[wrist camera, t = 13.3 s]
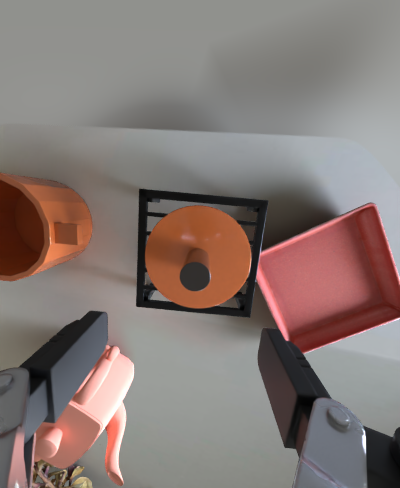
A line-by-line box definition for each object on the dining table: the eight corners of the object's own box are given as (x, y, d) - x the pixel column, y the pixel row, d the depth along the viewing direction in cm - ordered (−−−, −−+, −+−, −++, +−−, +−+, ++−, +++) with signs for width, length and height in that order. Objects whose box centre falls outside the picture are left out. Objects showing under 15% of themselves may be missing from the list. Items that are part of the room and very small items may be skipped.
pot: (-9, 175, 29) (-94, 164, 21) (109, 186, 29) (71, 179, 21) (1, 255, 32) (-72, 273, 23) (109, 265, 32) (75, 287, 23)
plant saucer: (284, 344, 33) (292, 360, 30) (241, 252, 30) (245, 258, 27) (390, 303, 31) (412, 315, 28) (356, 200, 28) (375, 199, 25)
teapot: (149, 397, 36) (120, 496, 24) (63, 399, 37) (-9, 497, 25) (139, 325, 34) (100, 396, 21) (46, 329, 34) (-45, 400, 22)
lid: (149, 200, 24) (126, 199, 17) (256, 210, 24) (276, 213, 17) (145, 299, 27) (124, 332, 20) (242, 308, 27) (254, 345, 20)
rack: (150, 191, 29) (139, 188, 24) (258, 201, 29) (268, 200, 24) (146, 291, 32) (136, 306, 27) (243, 300, 32) (250, 318, 27)
